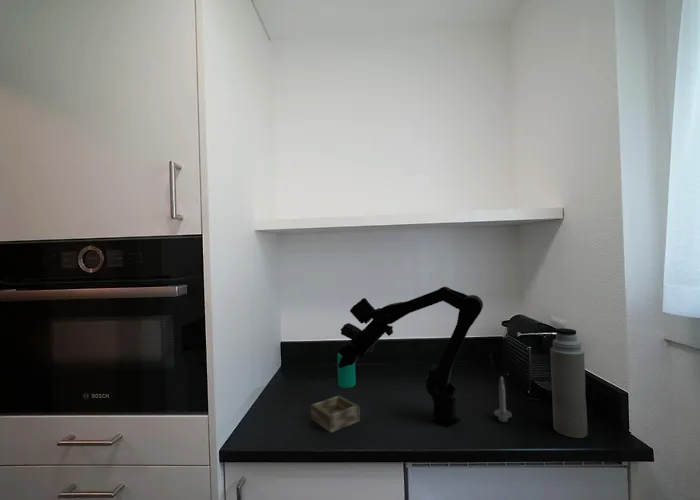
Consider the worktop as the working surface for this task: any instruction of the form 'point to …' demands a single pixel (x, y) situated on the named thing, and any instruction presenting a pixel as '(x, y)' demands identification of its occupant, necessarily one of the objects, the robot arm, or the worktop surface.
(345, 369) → the candle
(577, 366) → the thermos bottle
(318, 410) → the candle holder
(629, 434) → the worktop surface
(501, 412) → the screw
